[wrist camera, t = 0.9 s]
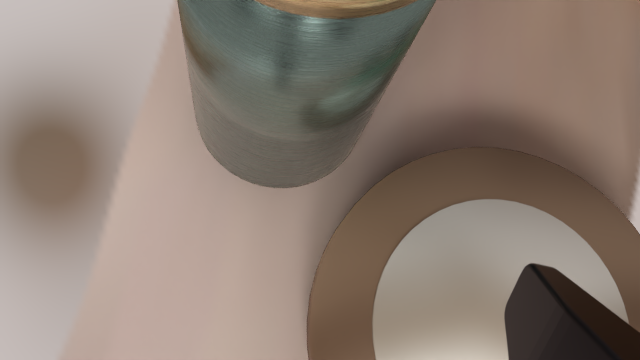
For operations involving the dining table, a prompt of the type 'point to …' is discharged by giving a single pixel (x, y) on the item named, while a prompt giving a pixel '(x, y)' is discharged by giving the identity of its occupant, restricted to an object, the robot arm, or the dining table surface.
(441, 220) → the turntable
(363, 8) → the tea tin
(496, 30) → the dining table surface
